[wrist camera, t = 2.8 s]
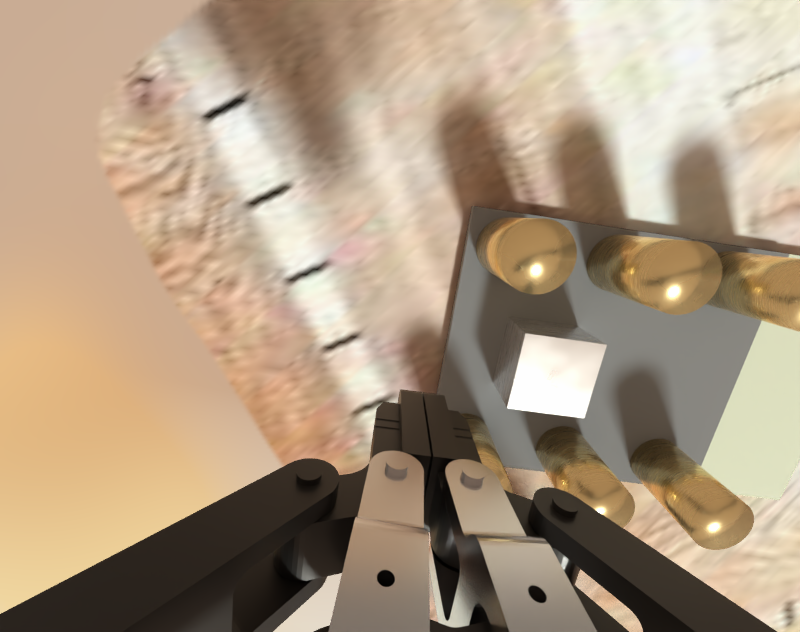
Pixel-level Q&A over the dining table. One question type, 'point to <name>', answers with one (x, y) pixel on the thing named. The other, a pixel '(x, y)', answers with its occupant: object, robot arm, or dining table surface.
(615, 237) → the spacers
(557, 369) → the white faced textured brick
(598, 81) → the dining table surface
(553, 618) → the robot arm
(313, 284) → the dining table surface
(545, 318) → the mat
